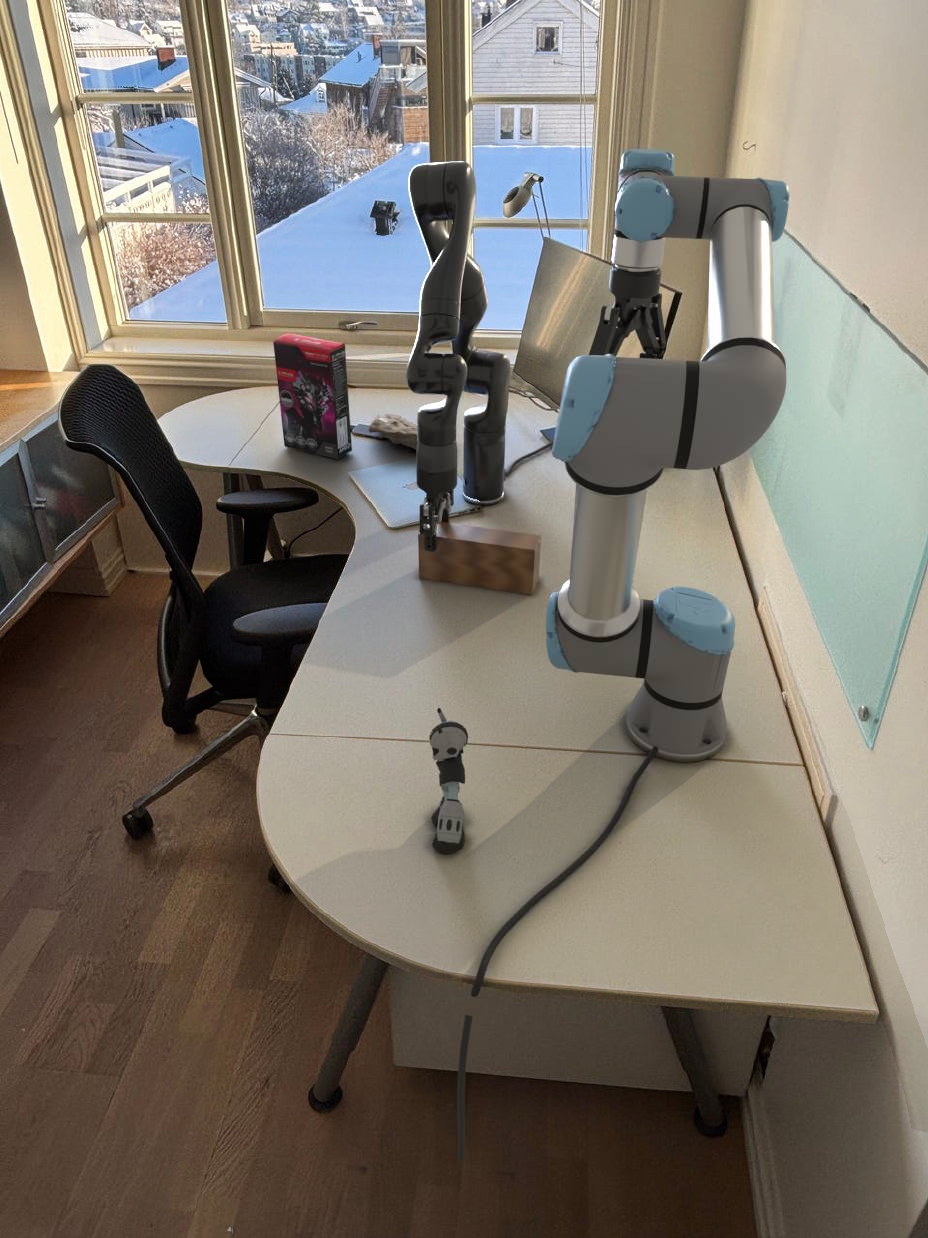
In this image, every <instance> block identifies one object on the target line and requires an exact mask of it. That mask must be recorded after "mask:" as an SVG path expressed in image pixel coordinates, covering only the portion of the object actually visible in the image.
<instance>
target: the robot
mask: <svg viewBox="0 0 928 1238" xmlns="http://www.w3.org/2000/svg"><path fill="white" fill-rule="evenodd" d="M436 712H437V714H438V717H439V719H440V723H438V724H437V725H436V726H434V728H432V729H431V731H430V733H429V735H428V739H429V745H430V747H431V750H432V759H433V760H434V761H436V762H435V765H436V767H437V769H438V771H439V773H438V782H439V787H440V788H441V789H440V790H441V791H442V794H443V795H442V797H441V800H440V802H439V804H438V805H439V806H437V808H436V810H435V811H434V812H433V813H432V815H431V817H430V819H431V821H432V824H433V826H434V827H435V828H436V832H435V835H434V837H433V840H432V843H431V846H432V848H434V850H435V851H436V852H437V853H439V854H444V855H450V854H454V853H456V852H459V851H461V850H462V849H463V848H464V846H465V843H466V836H465V835H466V832H465V830H464V827H463V825H464V822H465V818H464V817H465V816H464V814H465V811H464V807H463V803H462V802H461V801H460V800H459V793H460V790H461V789H460V784H466V769H465V766H464V763H463V756H462V755H463V754H464V747H466V746H467V744H468V741H469V733H468V731H467V728H465V726H463V724H461V723H460V722H457V721H454V720H447V718H446V715H445V714H444V712H443V711H442V709H441V707H438V708H437V709H436Z"/></svg>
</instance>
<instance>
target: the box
mask: <svg viewBox="0 0 928 1238" xmlns="http://www.w3.org/2000/svg"><path fill="white" fill-rule="evenodd" d="M427 527H429V528H430V525H429V524H428V526H427ZM417 543H418V545H417V546H418V547H417V549H418V551H417V552H418V578H419V579H422V580H432V581H437V582H444V583H451V584H456V585H464V586H469V587H470V586H471V587H476V588H483V589H489V590H497V591H503V592H509V593H516V594H517V593H518V594H524V595H530V596H533V594H534V592H535V589H536V587H537V585H538V582H539V578H540V577H539V576H540V560H541V544H542V535H541V534H533V533H526V532H518V531H510V530H504V529H496V528H489V527H482V526H473V525H466V524H461V523H453V522H449V523H446V522H440V523H439V524H438V527H437V549H436V551H435V552H431V551H426V550H425V549H424V535H420V533H419V532H418V533H417Z"/></svg>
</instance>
